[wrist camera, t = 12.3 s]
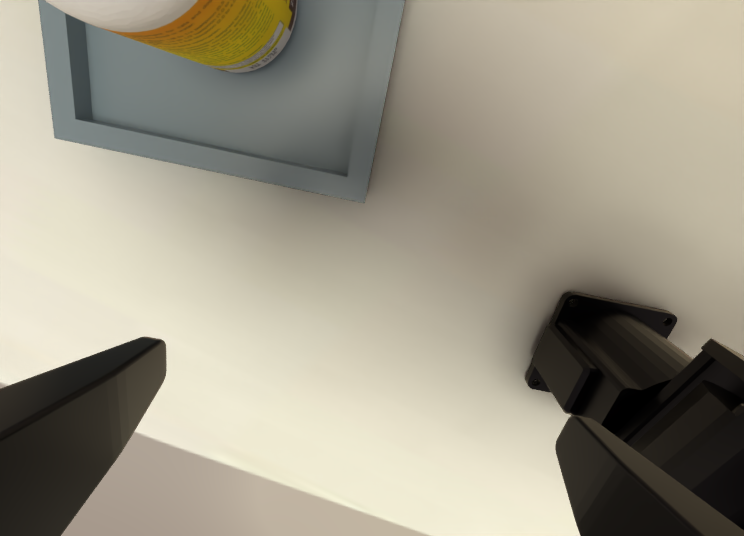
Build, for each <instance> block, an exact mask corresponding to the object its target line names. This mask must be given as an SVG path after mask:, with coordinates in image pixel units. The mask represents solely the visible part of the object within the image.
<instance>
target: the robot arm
mask: <svg viewBox="0 0 744 536" xmlns="http://www.w3.org/2000/svg"><path fill="white" fill-rule="evenodd" d="M572 299H574V302H573V303H571V304H569V301H570V300H572ZM666 318H667V319H666ZM665 319H666V320H665ZM664 320H665V321H664ZM663 321H664V322H663ZM676 322H677V317H676V316H675V315H674V314H672V313H670V312H669V311H666V310H661V309H656V308H651V307H646V306H641V305H636V304H631V303H626V302H621V301H616V300H612V299H607V298H602V297H597V296H592V295H587V294H582V293H577V292H568V293H566V294H564V295H563V296H562V298H561V300H560V302H559V304H558V306H557V309H556V311H555V313H554V315H553V318H552V320H551V322H550V324H549V325H548V326H547V327H546V330H545V332H544V334H543V336H542V338H541V341H540V343H539V345H538V347H537V350H536V352H535V354H534V356H533V358H532V364H531V366H530V368H529V371H528V373H527V375H526V378H525V380H526V383H527V384H528V386H529V387H530V388H532V389H536V390H541V391H546V392H552V394H553V395H554V397H555V398H556V400H557V402H558V403H559V405H560V406H561V408H562V409H563V411H564V412H565V413H567V414H570V415H571V417H569V419H568V420H567V422H566V424H565V426H564V428H563V429H562V431H561V433H560V435H559V437H558V439H557V441H556V454H557V458H558V461H559V465H560V469H561V472H562V476H563V479H564V483H565V486H566V490H567V493H568V497H569V500H570V504H571V507H572V511H573V514H574V517H575V521H576V524H577V527H578V530H579V533H580V535H581V536H744V356H743V355H741V354H739V353H737V352H735V351H733V350H732V349H730V348H728V347H726V346H724V345H723V344H721V343H719V342H717V341H715V340H714V339H712V338H711V339H710V340H709V341H708V342H707V343H705V344H704V345H703V346H702V347H701V349H703V350H702V351H701V352H700V353H699V354H698V355H697V356H696V357H695V358H694V359H693V358H691V357H690V356H689V355H687V354H686V353H685V352H683V351H682V350H680V349H679V348H678V347H676V346H675V345H674V344H672V343H671V342H670V341H668V340H667V338H668V336H669V334H670V333H671V331H672V329H673V328H674V326H675V324H676ZM165 376H166V344H165V342H164V341H163V340H161V339H156V338H151V337H141V338H138V339H135V340H132V341H130V342H127V343H124V344H121V345H119V346H116V347H113V348H111V349H108V350H105V351H102V352H100V353H97V354H94V355H91V356H89V357H86V358H83V359H80V360H78V361H75V362H72V363H69V364H67V365H64V366H61V367H58V368H56V369H53V370H50V371H47V372H45V373H42V374H39V375H36V376H34V377H31V378H28V379H26V380H23V381H20V382H17V383H15V384H12V385H9V386H6V387H4V388H1V389H0V536H61V535H62V533H63V532H64V530H65V529H66V528H67V526H68V525H69V524H70V522H71V521H72V519H73V518H74V516H75V515H76V514H77V513H78V511H79V510H80V509H81V507H82V506H83V504H84V503H85V502H86V500H87V499H88V498H89V496H90V495H91V494H92V492H93V491H94V489H95V488H96V487H97V485H98V484H99V483H100V481H101V480H102V478H103V477H104V476H105V474H106V473H107V472H108V470H109V469H110V467H111V466H112V465H113V463H114V462H115V461H116V459H117V458H118V456H119V455H120V453H121V452H122V450H123V449H124V447H125V446H126V444H127V442H128V441H129V439H130V438H131V436H132V434H133V433H134V431H135V429H136V428H137V426H138V424H139V422H140V421H141V419H142V417H143V416H144V414H145V412H146V411H147V409H148V407H149V406H150V404H151V402H152V400H153V399H154V397H155V395H156V394H157V392H158V390H159V389H160V387H161V385H162V383H163V381H164V379H165ZM535 379H537V380H536V381H533V380H535ZM532 381H533V382H532Z"/></svg>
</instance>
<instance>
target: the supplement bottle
mask: <svg viewBox="0 0 744 536" xmlns="http://www.w3.org/2000/svg"><path fill="white" fill-rule="evenodd" d="M45 1H46V2H48V3H49V4H51V5H53V6H54V7H56V8H58V9H59V10H61V11H63V12H64V13H66V14H68V15H70V16H72V17H75V18H77V19H79V20H81V21H83V22H86V23H88V24H91V25H93V26H96V27H99V28H102V29H105V30H108V31H110V32H113V33H116V34H118V35H121V36H124V37H127V38H130V39H133V40H136V41H138V42H141V43H144V44H147V45H150V46H153V47H155V48H158V49H161V50H164V51H166V52H169V53H172V54H175V55H177V56H181V57H183V58H186V59H189V60H192V61H195V62H198V63H200V64H203V65H206V66H208V67H211V68H214V69H217V70H220V71H225V72H231V73H242V72H249V71H253V70H256V69H258V68H261V67H263V66H265V65H266V64H268V63H269V62H271V61H272V60H273V59H274V58H275V57H276V56H277V55H278V54H279V53H280V52H281V51H282V49H283V48H284V46H285V45H286V43H287V41H288V40H289V38H290V35H291V33H292V30H293V27H294V24H295V19H296V14H297V0H45Z"/></svg>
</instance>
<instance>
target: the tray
mask: <svg viewBox="0 0 744 536" xmlns="http://www.w3.org/2000/svg"><path fill="white" fill-rule="evenodd" d="M38 3H39V11H40V20H41V28H42V36H43V45H44V53H45V61H46V70H47V78H48V86H49V95H50V103H51V112H52V120H53V128H54V137H55V138H56V139H61V140H65V141H70V142H75V143H80V144H85V145H89V146H94V147H99V148H104V149H108V150H113V151H118V152H123V153H127V154H132V155H137V156H142V157H146V158H151V159H156V160H161V161H165V162H170V163H175V164H180V165H184V166H189V167H194V168H199V169H203V170H208V171H213V172H218V173H223V174H227V175H232V176H237V177H242V178H246V179H251V180H256V181H261V182H265V183H270V184H275V185H280V186H284V187H289V188H294V189H299V190H303V191H308V192H313V193H318V194H322V195H327V196H332V197H337V198H341V199H346V200H351V201H356V202H361V203H365V199H366V194H367V189H368V184H369V179H370V174H371V169H372V164H373V159H374V154H375V149H376V144H377V139H378V134H379V129H380V124H381V119H382V114H383V109H384V103H385V98H386V93H387V88H388V83H389V78H390V73H391V68H392V63H393V58H394V53H395V48H396V43H397V38H398V33H399V28H400V23H401V18H402V13H403V8H404V3H405V0H297V14H296V19H295V24H294V27H293V30H292V33H291V35H290V38H289V40H288V41H287V43H286V45H285V46H284V48H283V49H282V51H281V52H280V53H279V54H278V55H277V56H276V57H275V58H274V59H273V60H272V61H271V62H269V63H268V64H266V65H265V66H263V67H261V68H258V69H256V70H253V71H249V72H242V73H231V72H225V71H220V70H217V69H214V68H211V67H208V66H206V65H203V64H200V63H198V62H195V61H192V60H189V59H186V58H183V57H181V56H177V55H175V54H172V53H169V52H166V51H164V50H161V49H158V48H155V47H153V46H150V45H147V44H144V43H141V42H138V41H136V40H133V39H130V38H127V37H124V36H121V35H118V34H116V33H113V32H110V31H108V30H105V29H102V28H99V27H96V26H93V25H91V24H88V23H86V22H83V21H81V20H79V19H77V18H75V17H72V16H70V15H68V14H66V13H64V12H63V11H61V10H59V9H58V8H56V7H54V6H53V5H51V4H49V3H48V2H46V1H45V0H38Z"/></svg>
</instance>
